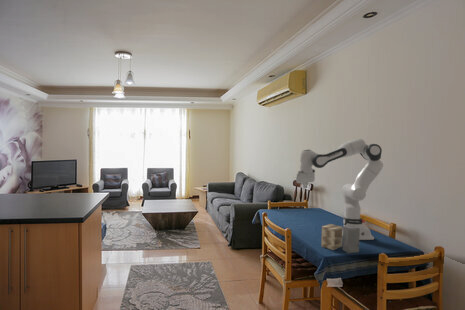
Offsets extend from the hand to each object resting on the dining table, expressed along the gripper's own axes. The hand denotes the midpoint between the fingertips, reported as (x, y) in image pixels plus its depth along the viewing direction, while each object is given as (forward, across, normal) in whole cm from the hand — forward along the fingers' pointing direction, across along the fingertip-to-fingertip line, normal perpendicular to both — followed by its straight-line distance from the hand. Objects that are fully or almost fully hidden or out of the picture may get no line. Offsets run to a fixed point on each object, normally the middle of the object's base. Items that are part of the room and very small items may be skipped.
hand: (305, 188), depth 236 cm
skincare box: (+34, -14, -44) cm, 58 cm away
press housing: (+34, -15, -32) cm, 49 cm away
